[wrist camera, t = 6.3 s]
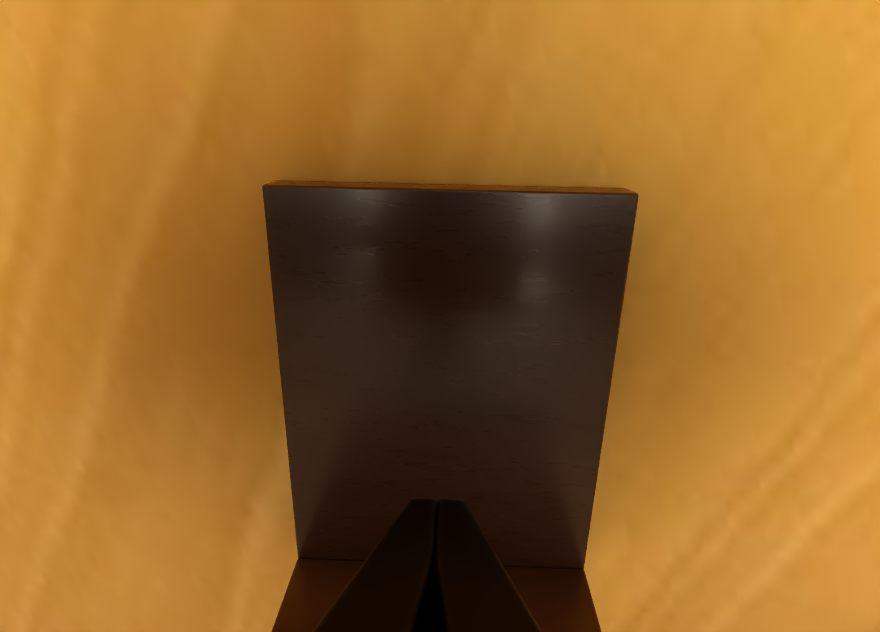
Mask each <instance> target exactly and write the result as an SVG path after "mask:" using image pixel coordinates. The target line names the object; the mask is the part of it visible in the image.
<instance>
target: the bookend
mask: <svg viewBox="0 0 880 632" xmlns="http://www.w3.org/2000/svg"><path fill="white" fill-rule="evenodd" d="M262 188H263V198H264V209H265V219H266V229H267V240H268V250H269V260H270V271H271V281H272V291H273V302H274V312H275V323H276V333H277V343H278V354H279V364H280V374H281V385H282V395H283V405H284V416H285V426H286V437H287V447H288V457H289V468H290V478H291V488H292V499H293V509H294V519H295V530H296V540H297V550H298V560H297V562H296V565H295V568H294V571H293V574H292V576H291V579H290V582H289V585H288V587H287V590H286V593H285V596H284V599H283V601H282V604H281V607H280V610H279V612H278V615H277V618H276V621H275V624H274V626H273V629H272V632H313V631H314V629H315V628H316V627H317V625H318V624H319V622H320V621H321V620H322V618H323V617H324V616H325V614H326V613H327V612H328V610H329V609H330V608H331V606H332V605H333V604H334V602H335V601H336V600H337V598H338V597H339V595H340V594H341V593H342V591H343V590H344V589H345V587H346V586H347V585H348V583H349V582H350V581H351V579H352V578H353V577H354V575H355V574H356V572H357V571H358V570H359V568H360V567H361V566H362V564H363V563H364V562H365V560H366V559H367V558H368V556H369V555H370V554H371V552H372V551H373V550H374V548H375V547H376V545H377V544H378V543H379V541H380V540H381V539H382V537H383V536H384V535H385V533H386V532H387V531H388V529H389V528H390V527H391V525H392V524H393V523H394V521H395V520H396V518H397V517H398V516H399V514H400V513H401V512H402V510H403V509H404V508H405V506H406V505H407V504H408V502H409V501H410V500H411V499H413V498H433V499H435V500H436V501H437V507H438V501H439V500H440V499H460V500H463V501H464V502H465V503H466V504H467V506H468V508H469V509H470V511H471V513H472V514H473V516H474V518H475V520H476V521H477V523H478V525H479V526H480V528H481V530H482V531H483V533H484V535H485V536H486V538H487V540H488V542H489V543H490V545H491V547H492V548H493V550H494V552H495V553H496V555H497V557H498V558H499V560H500V562H501V564H502V565H503V567H504V569H505V570H506V572H507V574H508V575H509V577H510V579H511V580H512V582H513V584H514V586H515V587H516V589H517V591H518V592H519V594H520V596H521V597H522V599H523V601H524V602H525V604H526V606H527V608H528V609H529V611H530V613H531V614H532V616H533V618H534V619H535V621H536V623H537V624H538V626H539V628H540V629H541V631H542V632H601V629H600V625H599V622H598V618H597V614H596V611H595V607H594V604H593V600H592V596H591V593H590V589H589V586H588V582H587V579H586V575H585V571H584V563H585V556H586V549H587V542H588V536H589V529H590V522H591V515H592V509H593V502H594V495H595V488H596V481H597V475H598V468H599V461H600V454H601V447H602V441H603V434H604V427H605V420H606V413H607V407H608V400H609V393H610V386H611V379H612V373H613V366H614V359H615V352H616V345H617V339H618V332H619V325H620V318H621V311H622V305H623V298H624V291H625V284H626V278H627V271H628V264H629V257H630V250H631V244H632V237H633V230H634V223H635V216H636V210H637V203H638V194H637V193H635V192H632V191H630V190H628V189H625V188H583V187H539V186H495V185H451V184H406V183H362V182H318V181H274V182H271V183H268V184H265V185H263V187H262ZM433 632H434V625H433Z"/></svg>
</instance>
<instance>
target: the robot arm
mask: <svg viewBox="0 0 880 632" xmlns="http://www.w3.org/2000/svg"><path fill="white" fill-rule="evenodd" d="M433 625H434V632H542V631H541V629H540V628H539V626H538V624H537V623H536V621H535V619H534V618H533V616H532V614H531V613H530V611H529V609H528V608H527V606H526V604H525V602H524V601H523V599H522V597H521V596H520V594H519V592H518V591H517V589H516V587H515V586H514V584H513V582H512V580H511V579H510V577H509V575H508V574H507V572H506V570H505V569H504V567H503V565H502V564H501V562H500V560H499V558H498V557H497V555H496V553H495V552H494V550H493V548H492V547H491V545H490V543H489V542H488V540H487V538H486V536H485V535H484V533H483V531H482V530H481V528H480V526H479V525H478V523H477V521H476V520H475V518H474V516H473V514H472V513H471V511H470V509H469V508H468V506H467V504H466V503H465V502H464V501H463V500H460V499H440V500H439V501H438V507H437V501H436V500H435V499H433V498H413V499H411V500H410V501H409V502H408V504H407V505H406V506H405V508H404V509H403V510H402V512H401V513H400V514H399V516H398V517H397V518H396V520H395V521H394V523H393V524H392V525H391V527H390V528H389V529H388V531H387V532H386V533H385V535H384V536H383V537H382V539H381V540H380V541H379V543H378V544H377V545H376V547H375V548H374V550H373V551H372V552H371V554H370V555H369V556H368V558H367V559H366V560H365V562H364V563H363V564H362V566H361V567H360V568H359V570H358V571H357V572H356V574H355V575H354V577H353V578H352V579H351V581H350V582H349V583H348V585H347V586H346V587H345V589H344V590H343V591H342V593H341V594H340V595H339V597H338V598H337V600H336V601H335V602H334V604H333V605H332V606H331V608H330V609H329V610H328V612H327V613H326V614H325V616H324V617H323V618H322V620H321V621H320V622H319V624H318V625H317V627H316V628H315V629H314V631H313V632H433Z"/></svg>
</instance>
